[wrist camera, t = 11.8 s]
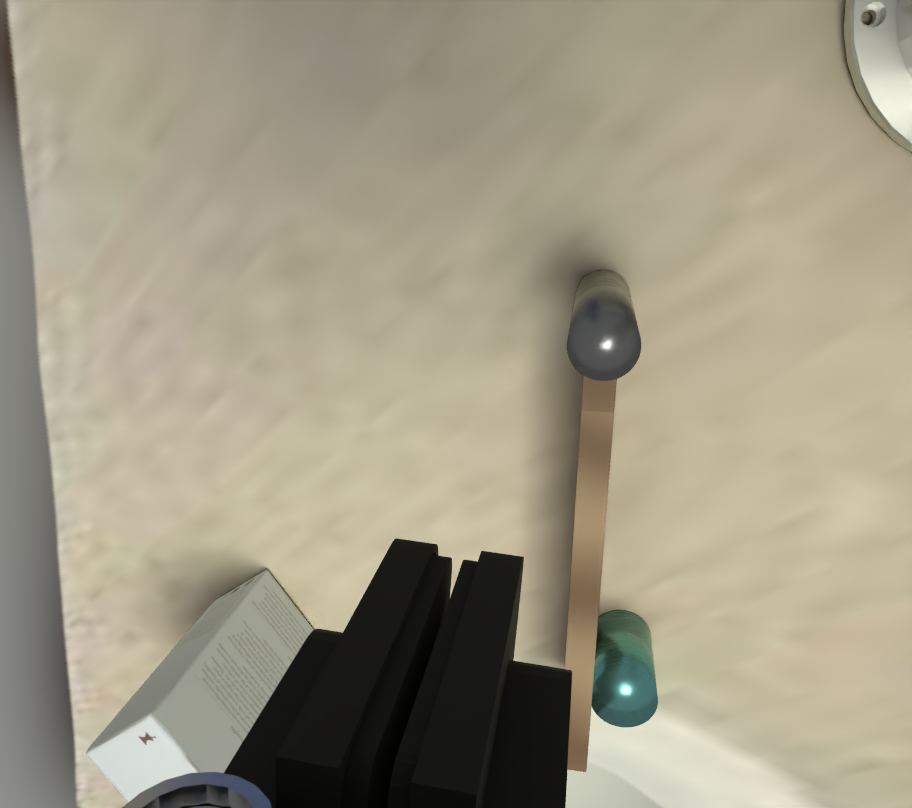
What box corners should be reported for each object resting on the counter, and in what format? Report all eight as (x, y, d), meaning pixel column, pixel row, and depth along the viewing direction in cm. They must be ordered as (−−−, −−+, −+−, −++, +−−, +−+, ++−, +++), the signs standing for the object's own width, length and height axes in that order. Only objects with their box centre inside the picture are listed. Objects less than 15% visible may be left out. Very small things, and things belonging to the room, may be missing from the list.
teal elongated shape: (635, 267, 35) (649, 306, 25) (651, 661, 40) (668, 814, 31) (567, 273, 35) (555, 313, 26) (592, 661, 41) (590, 810, 31)
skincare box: (212, 599, 44) (78, 751, 33) (268, 566, 43) (149, 711, 31) (277, 682, 45) (168, 857, 33) (334, 651, 43) (240, 823, 32)
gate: (586, 331, 35) (583, 369, 29) (613, 332, 35) (617, 371, 29) (564, 672, 41) (558, 768, 34) (588, 675, 40) (586, 771, 34)
